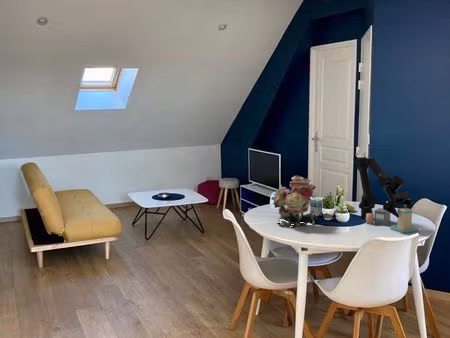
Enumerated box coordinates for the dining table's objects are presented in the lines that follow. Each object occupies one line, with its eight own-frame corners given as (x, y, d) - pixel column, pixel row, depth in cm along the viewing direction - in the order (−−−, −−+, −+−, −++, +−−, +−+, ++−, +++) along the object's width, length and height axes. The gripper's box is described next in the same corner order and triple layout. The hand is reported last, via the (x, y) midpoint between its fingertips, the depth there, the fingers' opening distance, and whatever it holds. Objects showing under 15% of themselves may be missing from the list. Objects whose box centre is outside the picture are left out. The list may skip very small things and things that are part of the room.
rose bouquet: (270, 218, 327) (270, 173, 323) (315, 217, 327) (315, 172, 322) (273, 228, 302) (273, 179, 298) (322, 228, 301) (322, 178, 297)
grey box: (373, 223, 308) (374, 210, 307) (378, 220, 315) (379, 208, 314) (386, 225, 304) (386, 212, 302) (390, 222, 310) (391, 209, 309)
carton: (397, 228, 293) (397, 208, 292) (404, 227, 295) (405, 207, 294) (403, 230, 288) (404, 210, 287) (411, 229, 290) (412, 209, 289)
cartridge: (364, 223, 309) (365, 214, 308) (367, 222, 312) (367, 212, 311) (371, 224, 306) (372, 215, 305) (374, 223, 309) (374, 213, 309)
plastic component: (356, 208, 341) (344, 203, 338) (351, 218, 342) (339, 212, 339) (343, 200, 360) (332, 195, 357) (339, 209, 361) (327, 204, 358)
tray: (390, 229, 295) (390, 226, 295) (405, 227, 299) (405, 224, 299) (403, 233, 285) (403, 230, 285) (418, 231, 289) (418, 228, 289)
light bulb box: (317, 216, 330) (317, 200, 329) (309, 214, 335) (309, 199, 334) (327, 213, 337) (327, 198, 335) (319, 212, 342) (319, 196, 341)
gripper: (386, 188, 290) (399, 210, 281) (412, 185, 296) (425, 207, 288) (377, 198, 298) (389, 221, 290) (402, 195, 305) (414, 217, 296)
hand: (404, 216), depth 291 cm, fingers open, 9 cm apart
